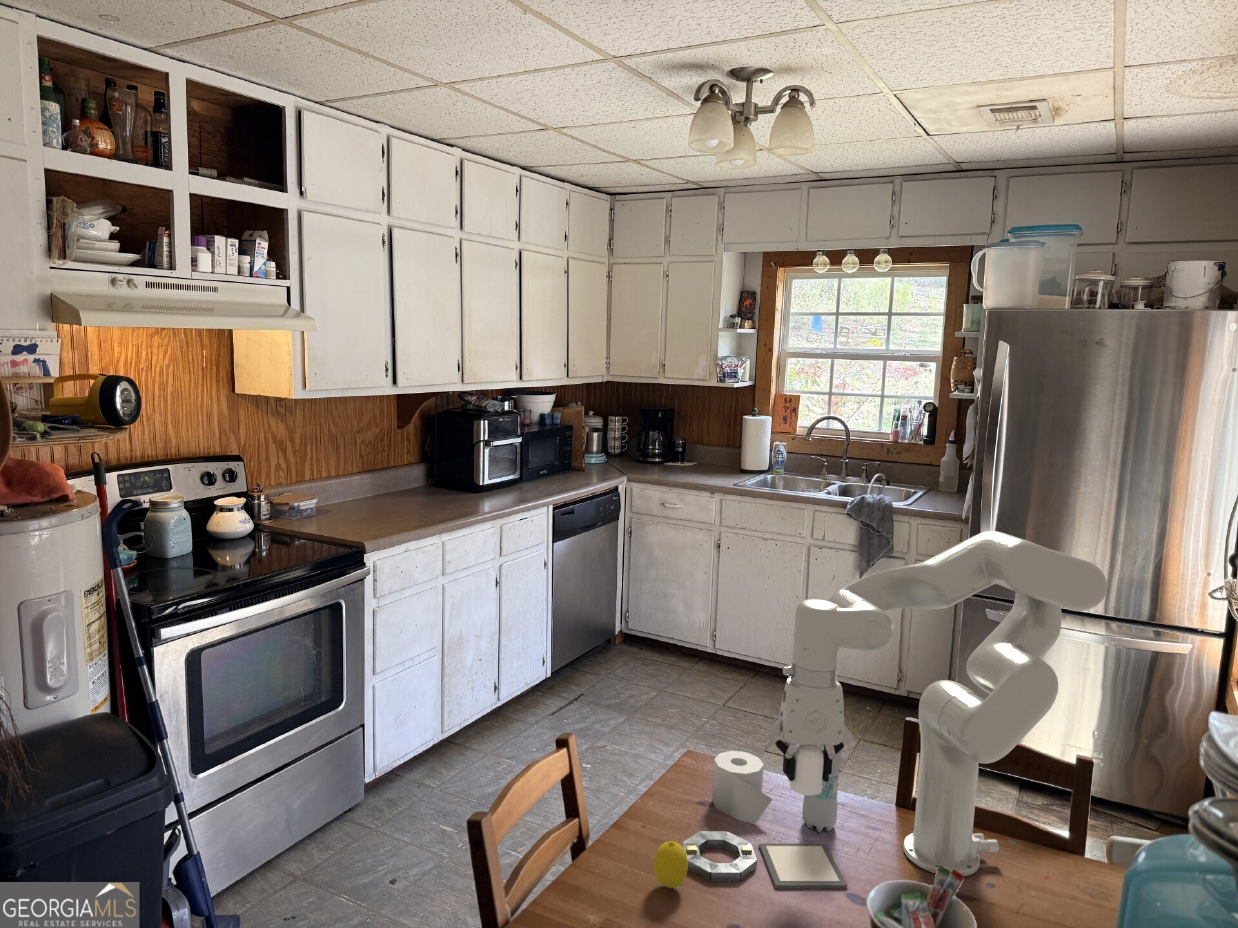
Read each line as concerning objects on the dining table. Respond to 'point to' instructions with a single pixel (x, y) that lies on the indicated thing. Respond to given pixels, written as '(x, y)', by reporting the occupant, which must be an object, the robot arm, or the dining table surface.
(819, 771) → the capsule
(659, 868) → the lemon
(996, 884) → the dining table surface
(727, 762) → the toilet tissue
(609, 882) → the dining table surface
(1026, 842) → the dining table surface
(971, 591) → the robot arm
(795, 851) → the mat
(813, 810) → the bottle
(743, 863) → the socket ring
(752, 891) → the dining table surface
